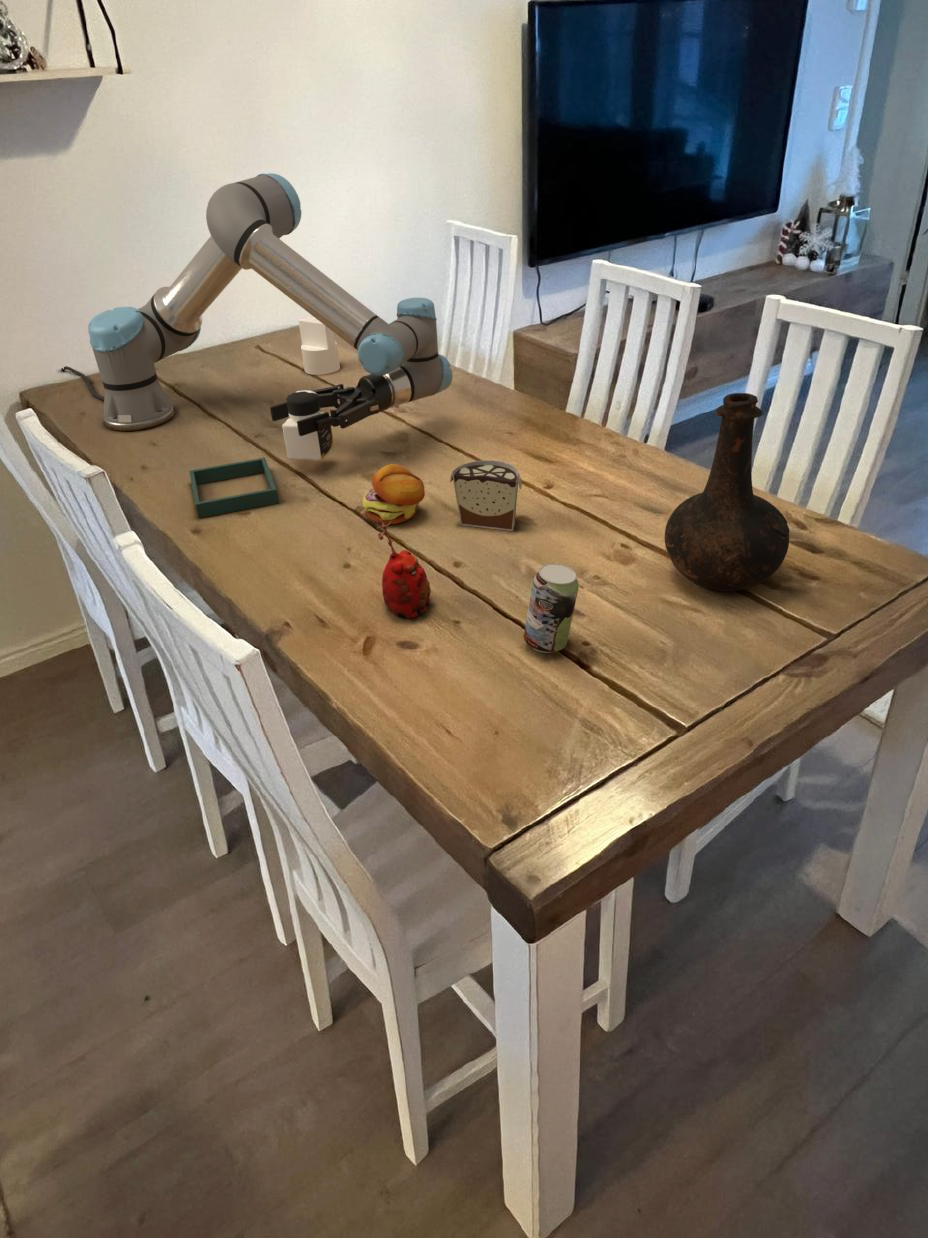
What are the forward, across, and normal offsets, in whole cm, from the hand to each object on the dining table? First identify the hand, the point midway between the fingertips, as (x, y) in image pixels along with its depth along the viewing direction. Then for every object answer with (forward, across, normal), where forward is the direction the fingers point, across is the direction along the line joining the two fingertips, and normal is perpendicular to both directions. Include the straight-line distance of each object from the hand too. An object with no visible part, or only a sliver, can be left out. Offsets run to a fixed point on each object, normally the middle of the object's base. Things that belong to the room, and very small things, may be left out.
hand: (285, 421), depth 170 cm
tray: (+12, +1, -11) cm, 17 cm away
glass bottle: (-30, -79, -11) cm, 86 cm away
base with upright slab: (-37, +51, -11) cm, 64 cm away
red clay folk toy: (+11, -54, -11) cm, 56 cm away
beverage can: (+2, -75, -11) cm, 76 cm away
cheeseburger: (-5, -28, -11) cm, 30 cm away
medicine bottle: (-4, 0, -8) cm, 9 cm away
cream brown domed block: (-16, -41, -11) cm, 46 cm away
